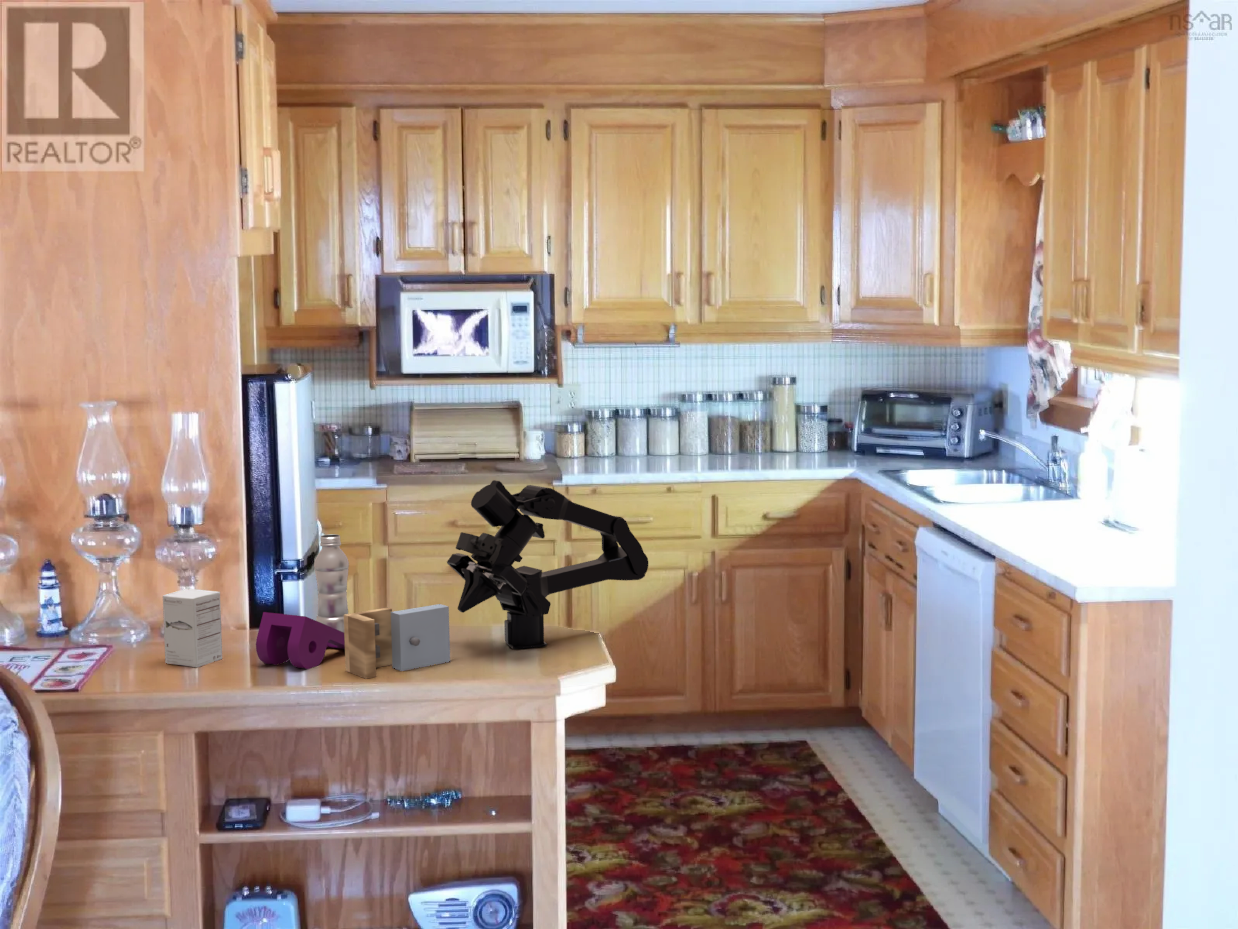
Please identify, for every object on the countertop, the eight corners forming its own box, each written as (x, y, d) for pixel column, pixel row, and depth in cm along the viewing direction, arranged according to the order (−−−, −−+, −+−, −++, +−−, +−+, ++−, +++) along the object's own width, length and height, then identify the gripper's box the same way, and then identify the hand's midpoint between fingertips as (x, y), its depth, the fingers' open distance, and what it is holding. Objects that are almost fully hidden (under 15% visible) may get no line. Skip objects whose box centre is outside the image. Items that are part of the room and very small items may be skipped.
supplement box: (163, 664, 265) (160, 595, 263) (192, 655, 271) (189, 587, 270) (196, 668, 261) (192, 598, 260) (224, 659, 268) (221, 590, 267)
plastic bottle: (309, 639, 282) (305, 536, 280) (340, 634, 287) (336, 532, 284) (327, 645, 277) (323, 539, 275) (358, 639, 282) (354, 535, 280)
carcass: (389, 662, 263) (387, 607, 262) (410, 670, 258) (408, 613, 257) (345, 670, 258) (343, 614, 257) (365, 678, 252) (364, 621, 251)
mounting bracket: (311, 680, 276) (251, 658, 260) (322, 636, 278) (263, 612, 263) (352, 685, 271) (293, 663, 256) (363, 640, 274) (305, 616, 259)
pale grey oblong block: (439, 658, 266) (438, 603, 265) (453, 663, 263) (452, 607, 261) (391, 667, 260) (389, 611, 259) (404, 672, 256) (403, 615, 255)
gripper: (453, 510, 274) (404, 577, 269) (511, 521, 260) (460, 592, 254) (490, 546, 280) (443, 612, 275) (548, 559, 266) (499, 629, 260)
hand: (460, 611), depth 266 cm, fingers closed
